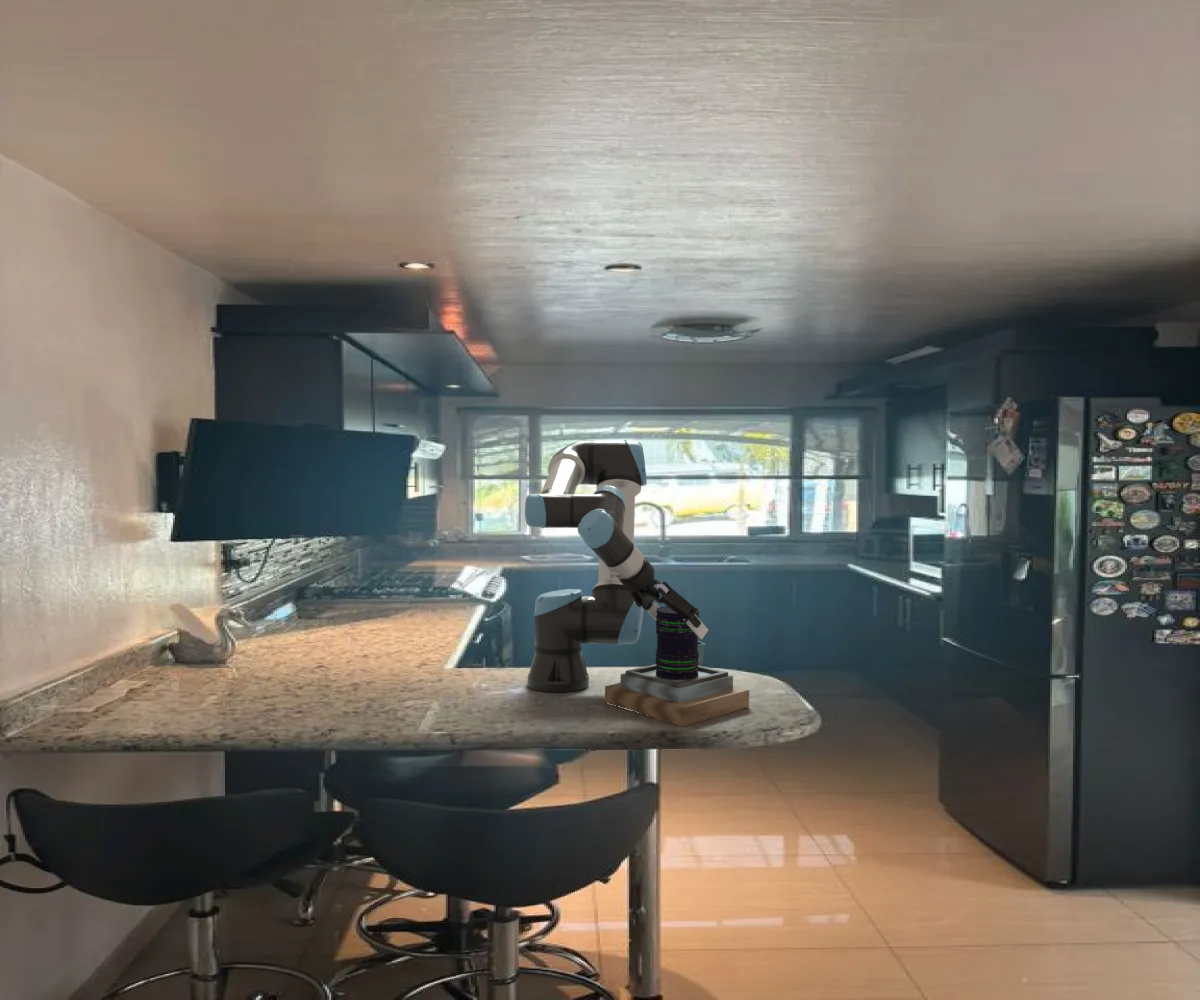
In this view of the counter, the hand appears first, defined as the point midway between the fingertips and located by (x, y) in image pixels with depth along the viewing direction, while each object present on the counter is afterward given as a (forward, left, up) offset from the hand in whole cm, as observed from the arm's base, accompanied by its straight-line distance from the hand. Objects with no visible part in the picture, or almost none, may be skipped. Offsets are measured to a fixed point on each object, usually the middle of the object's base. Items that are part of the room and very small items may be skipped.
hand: (685, 629), depth 211 cm
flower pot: (-18, +20, -17) cm, 32 cm away
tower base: (0, -2, -17) cm, 17 cm away
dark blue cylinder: (0, -2, -10) cm, 11 cm away
